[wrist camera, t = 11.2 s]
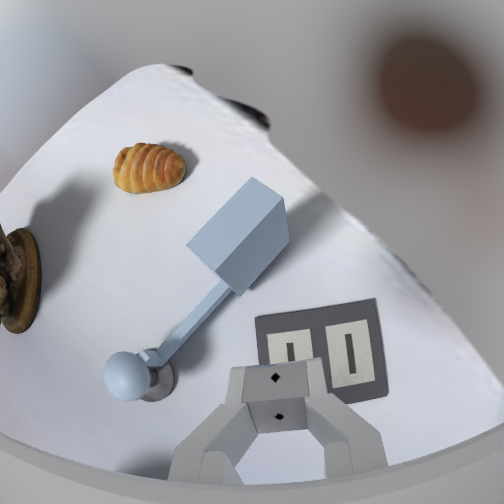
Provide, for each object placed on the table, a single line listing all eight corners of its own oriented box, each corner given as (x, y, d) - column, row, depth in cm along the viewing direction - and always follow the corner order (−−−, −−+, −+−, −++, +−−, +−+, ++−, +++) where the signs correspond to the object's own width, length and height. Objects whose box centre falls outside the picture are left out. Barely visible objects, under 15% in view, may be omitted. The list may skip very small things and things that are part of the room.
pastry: (196, 154, 36) (185, 134, 33) (178, 201, 34) (164, 183, 31) (136, 153, 39) (123, 136, 35) (117, 195, 37) (101, 180, 33)
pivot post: (181, 392, 26) (164, 396, 23) (139, 406, 26) (118, 410, 23) (163, 343, 28) (144, 340, 25) (123, 360, 28) (101, 358, 25)
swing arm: (147, 407, 25) (96, 415, 18) (120, 374, 27) (67, 371, 20) (296, 245, 28) (290, 202, 21) (261, 219, 30) (245, 172, 23)
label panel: (386, 395, 23) (387, 396, 23) (264, 414, 24) (263, 414, 24) (373, 300, 26) (374, 298, 26) (255, 317, 28) (254, 317, 27)
